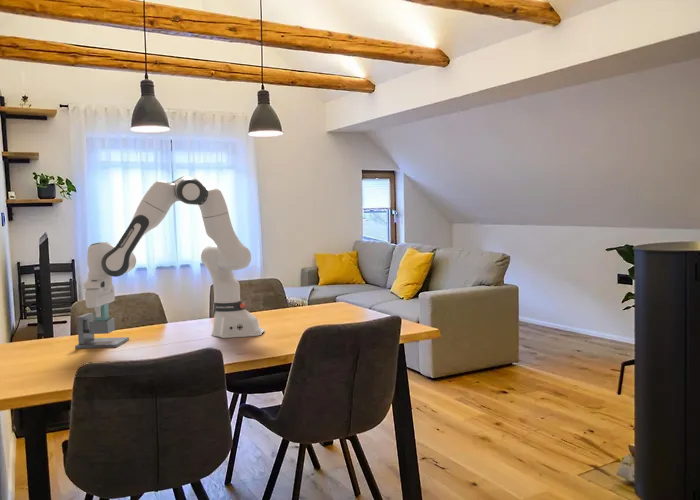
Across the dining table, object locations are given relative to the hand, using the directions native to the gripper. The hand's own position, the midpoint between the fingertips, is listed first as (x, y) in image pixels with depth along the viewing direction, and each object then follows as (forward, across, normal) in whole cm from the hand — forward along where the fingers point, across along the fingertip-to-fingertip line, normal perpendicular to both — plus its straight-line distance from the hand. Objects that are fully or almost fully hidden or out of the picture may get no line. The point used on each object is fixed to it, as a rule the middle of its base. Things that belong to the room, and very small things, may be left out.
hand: (101, 316), depth 228 cm
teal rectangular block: (+4, 0, 0) cm, 4 cm away
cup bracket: (+12, 0, 0) cm, 12 cm away
